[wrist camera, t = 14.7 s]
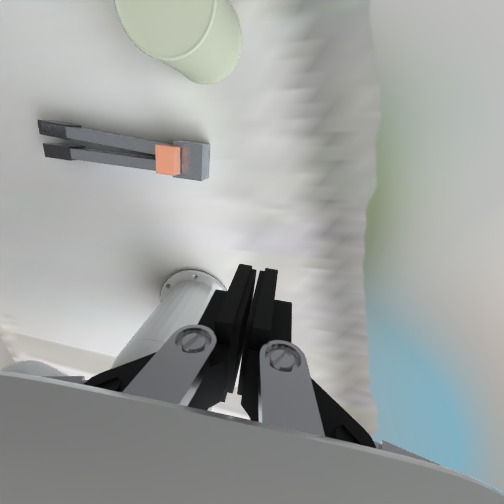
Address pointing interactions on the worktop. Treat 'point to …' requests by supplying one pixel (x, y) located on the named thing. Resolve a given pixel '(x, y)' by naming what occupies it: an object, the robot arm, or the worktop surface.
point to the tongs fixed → (139, 157)
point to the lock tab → (167, 159)
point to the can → (185, 34)
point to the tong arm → (96, 136)
